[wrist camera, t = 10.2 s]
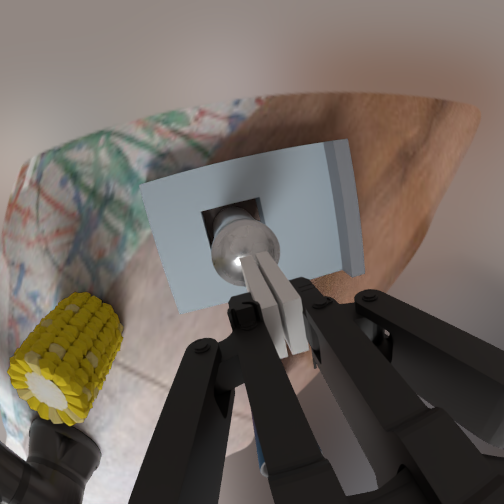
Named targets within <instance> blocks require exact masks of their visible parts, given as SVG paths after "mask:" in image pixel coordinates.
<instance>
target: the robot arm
mask: <svg viewBox="0 0 504 504" xmlns="http://www.w3.org/2000/svg"><path fill="white" fill-rule="evenodd" d="M255 257H256V261H257V265H256V263H255V261H254V259H253V257H252V255H249V256H245V257H241V258H239V260H240V264H241V268H242V272H243V276H244V280H245V284H246V288H247V293H243V294H240V295H236V296H232V297H231V298H230V300H229V302H228V304H229V309H228V312H227V314H228V317H229V320H230V323H231V327H232V330H233V331H232V333H231V335H230V336H229V337H227V338H226V339H224V340H223V341H221V342H217V341H216V340H215V339H212V338H203V339H198V340H196V341H194V342H192V343H191V344H190V345H189V346H188V347H187V349H186V351H185V353H184V356H183V358H182V361H181V363H180V366H179V368H178V371H177V373H176V376H175V378H174V381H173V384H172V386H171V389H170V391H169V394H168V396H167V399H166V402H165V404H164V407H163V409H162V412H161V415H160V417H159V420H158V423H157V425H156V428H155V430H154V433H153V436H152V438H151V441H150V444H149V446H148V449H147V452H146V455H145V457H144V460H143V463H142V466H141V468H140V471H139V474H138V477H137V479H136V482H135V485H134V488H133V491H132V493H131V496H130V499H129V502H128V504H218V499H219V493H220V487H221V481H222V473H223V467H224V461H225V455H226V448H227V442H228V436H229V429H230V423H231V416H232V409H233V403H234V396H235V387H237V386H239V385H241V384H243V383H245V386H246V390H247V394H248V398H249V403H250V407H251V411H252V415H253V419H254V422H255V426H256V430H257V434H258V438H259V442H260V446H261V449H262V453H263V457H264V460H265V464H266V468H267V472H268V480H269V485H270V489H271V492H272V496H273V499H274V503H275V504H504V457H497V456H491V455H485V454H481V453H480V452H479V450H478V449H477V448H476V447H475V445H474V444H473V443H472V442H471V440H470V439H469V438H468V437H467V436H466V434H465V433H464V432H463V431H462V430H461V428H460V427H459V426H458V425H457V424H456V423H455V421H456V422H457V423H458V424H460V425H461V426H463V427H464V428H465V429H467V430H468V431H470V432H471V433H473V434H474V435H476V436H477V437H479V438H480V439H482V440H483V441H485V442H487V443H489V444H491V445H493V446H496V447H498V448H501V449H504V351H503V350H501V349H499V348H497V347H495V346H493V345H491V344H489V343H487V342H485V341H483V340H481V339H479V338H477V337H475V336H473V335H471V334H469V333H467V332H465V331H462V330H461V329H459V328H457V327H455V326H453V325H450V324H448V323H446V322H444V321H442V320H440V319H438V318H436V317H434V316H432V315H430V314H428V313H426V312H423V311H421V310H419V309H417V308H415V307H413V306H411V305H409V304H407V303H405V302H402V301H400V300H398V299H396V298H394V297H392V296H390V295H388V294H386V293H384V292H381V291H379V290H373V289H368V290H364V291H361V292H359V293H357V294H356V295H355V297H354V301H355V302H354V303H347V304H338V303H337V301H336V300H335V299H333V298H331V297H327V296H323V295H322V294H321V293H320V292H319V290H318V289H317V288H315V286H314V285H313V284H312V283H311V281H310V280H309V279H307V278H304V277H299V278H295V279H292V280H288V279H287V278H286V276H285V275H284V273H283V272H282V271H281V269H280V268H279V267H278V265H277V264H276V262H275V261H274V260H273V258H272V257H271V255H270V254H269V253H268V251H264V252H260V253H256V254H255ZM385 330H387V331H388V332H389V333H390V335H389V336H388V335H386V334H384V332H385ZM285 340H286V342H287V344H288V346H289V348H290V350H291V352H292V355H295V354H298V353H301V352H304V351H307V350H309V346H308V342H309V344H310V346H311V349H312V357H313V364H314V369H316V368H317V367H316V364H317V365H318V367H319V369H320V371H321V373H322V374H323V377H324V378H325V380H326V382H327V384H328V386H329V388H330V390H331V392H332V393H333V395H334V397H335V399H336V401H337V403H338V405H339V406H340V408H341V410H342V412H343V414H344V416H345V418H346V420H347V421H348V423H349V425H350V427H351V429H352V431H353V433H354V434H355V436H356V438H357V440H358V442H359V444H360V446H361V448H362V450H363V452H364V453H365V455H366V457H367V459H368V461H369V463H370V465H371V466H372V468H373V470H374V472H375V475H376V480H377V485H378V488H379V489H377V490H375V491H371V492H367V493H361V494H356V495H352V496H346V495H345V493H344V491H343V489H342V487H341V485H340V483H339V481H338V478H337V477H336V474H335V472H334V470H333V468H332V466H331V464H330V463H329V461H328V460H327V459H325V458H324V457H323V455H322V453H321V450H320V448H319V446H318V444H317V442H316V439H315V437H314V435H313V433H312V430H311V428H310V426H309V424H308V421H307V419H306V417H305V415H304V413H303V410H302V408H301V406H300V403H299V401H298V399H297V396H296V394H295V392H294V390H293V387H292V385H291V383H290V380H289V378H288V376H287V374H286V371H285V369H284V367H283V364H282V362H281V360H280V359H282V358H285V357H288V353H287V348H286V343H285ZM417 395H419V396H420V397H422V398H423V399H424V400H426V401H427V402H429V403H430V404H431V405H433V406H434V407H435V408H432V409H430V408H428V407H427V406H426V405H425V404H424V403H423V402H422V400H421V399H420V398H419V397H418V396H417ZM29 437H30V438H29V455H28V458H27V461H24V460H23V459H22V458H20V457H19V456H18V455H17V454H15V453H14V452H13V451H12V450H10V449H9V448H8V447H7V446H6V445H5V444H3V443H2V442H1V441H0V504H82V501H83V495H84V490H85V485H86V483H87V482H88V480H89V479H90V477H91V476H92V474H93V472H94V471H95V470H96V469H97V468H98V466H99V464H100V459H101V452H100V450H99V448H98V447H97V446H96V444H95V443H94V442H93V441H92V440H91V439H90V438H88V437H87V436H86V435H84V434H83V433H82V432H80V431H79V430H77V429H75V428H73V427H72V426H68V425H67V424H66V423H58V424H54V423H53V422H52V421H51V420H50V419H49V420H46V419H43V418H41V417H40V418H36V419H35V420H34V421H33V423H32V425H31V427H30V430H29Z"/></svg>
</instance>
